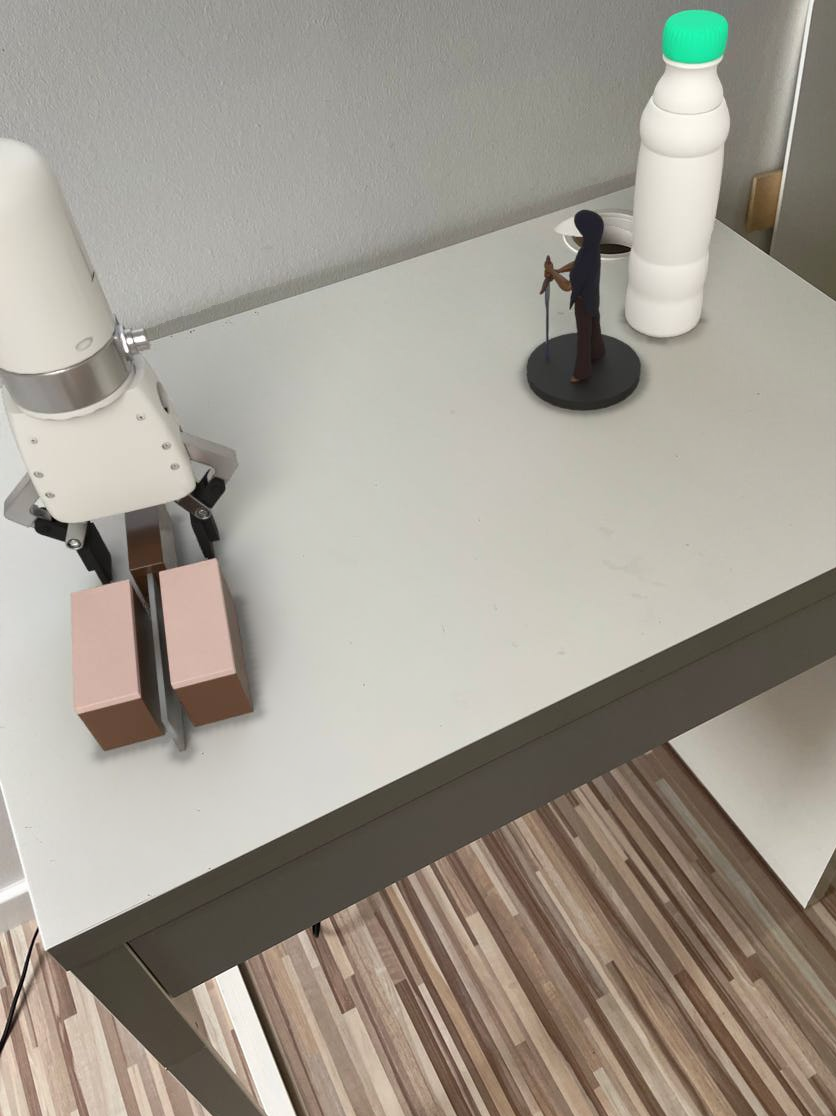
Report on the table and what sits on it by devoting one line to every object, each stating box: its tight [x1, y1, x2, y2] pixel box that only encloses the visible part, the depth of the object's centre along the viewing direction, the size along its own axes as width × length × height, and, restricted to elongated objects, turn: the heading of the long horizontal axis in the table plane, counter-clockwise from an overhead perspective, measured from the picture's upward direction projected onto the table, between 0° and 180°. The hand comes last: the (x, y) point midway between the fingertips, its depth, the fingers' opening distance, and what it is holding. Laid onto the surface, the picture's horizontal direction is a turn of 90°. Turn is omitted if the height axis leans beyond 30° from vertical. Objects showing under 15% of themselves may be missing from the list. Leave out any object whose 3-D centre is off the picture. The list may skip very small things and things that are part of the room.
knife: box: [124, 503, 186, 753], centre depth 66 cm, size 22×2×4 cm, turn 17°
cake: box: [70, 557, 254, 752], centre depth 63 cm, size 10×10×5 cm
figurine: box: [526, 209, 642, 411], centre depth 77 cm, size 10×10×15 cm
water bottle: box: [624, 9, 731, 339], centre depth 78 cm, size 7×7×25 cm
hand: (158, 557), depth 71 cm, fingers open, 7 cm apart
